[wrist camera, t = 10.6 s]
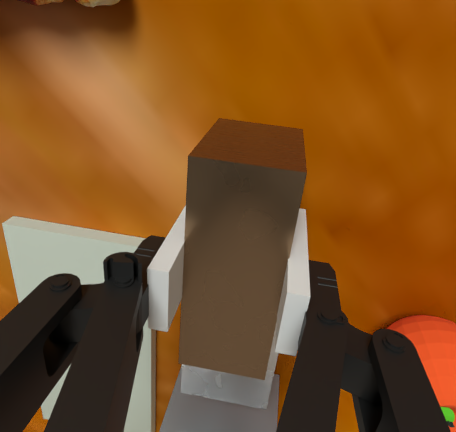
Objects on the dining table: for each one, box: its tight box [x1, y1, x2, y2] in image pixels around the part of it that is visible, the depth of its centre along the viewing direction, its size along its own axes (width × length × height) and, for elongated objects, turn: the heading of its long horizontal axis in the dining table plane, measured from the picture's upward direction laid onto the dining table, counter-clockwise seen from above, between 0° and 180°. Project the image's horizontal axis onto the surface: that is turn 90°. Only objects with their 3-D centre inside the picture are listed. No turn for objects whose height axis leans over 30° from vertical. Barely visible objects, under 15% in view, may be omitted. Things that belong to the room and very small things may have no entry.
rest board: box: [2, 216, 156, 432], centre depth 32 cm, size 11×22×1 cm, turn 175°
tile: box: [159, 366, 279, 432], centre depth 27 cm, size 8×2×10 cm, turn 84°
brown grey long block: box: [179, 118, 307, 410], centre depth 20 cm, size 19×6×6 cm, turn 175°
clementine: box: [386, 315, 456, 432], centre depth 24 cm, size 8×7×7 cm
